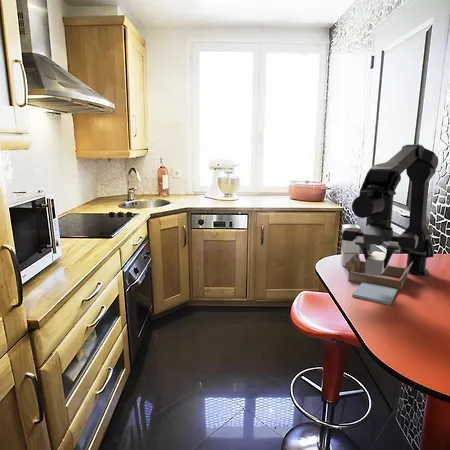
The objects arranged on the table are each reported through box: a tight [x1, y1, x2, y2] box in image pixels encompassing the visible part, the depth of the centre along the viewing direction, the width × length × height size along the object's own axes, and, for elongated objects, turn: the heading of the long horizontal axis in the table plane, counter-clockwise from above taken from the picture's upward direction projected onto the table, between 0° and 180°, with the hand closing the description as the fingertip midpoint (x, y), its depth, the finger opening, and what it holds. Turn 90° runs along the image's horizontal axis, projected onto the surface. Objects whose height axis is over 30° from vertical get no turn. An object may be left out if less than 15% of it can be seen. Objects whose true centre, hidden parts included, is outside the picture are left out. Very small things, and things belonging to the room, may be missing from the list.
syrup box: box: [340, 223, 362, 267], centre depth 124 cm, size 6×6×14 cm
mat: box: [351, 282, 399, 306], centre depth 99 cm, size 11×10×1 cm
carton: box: [345, 253, 414, 291], centre depth 110 cm, size 13×18×6 cm
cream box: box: [364, 250, 389, 277], centre depth 97 cm, size 10×4×4 cm, turn 144°
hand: (376, 267), depth 97 cm, fingers closed on cream box, 4 cm apart
